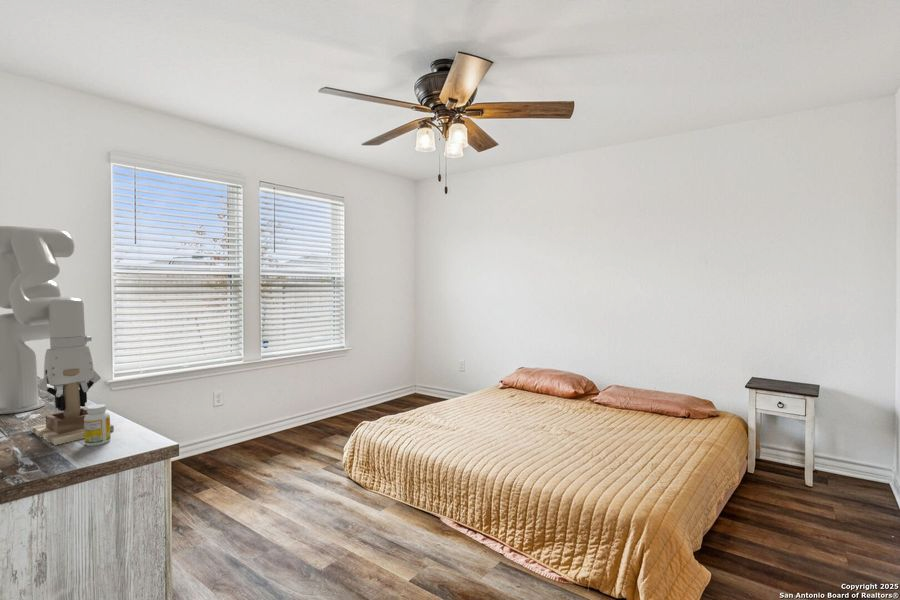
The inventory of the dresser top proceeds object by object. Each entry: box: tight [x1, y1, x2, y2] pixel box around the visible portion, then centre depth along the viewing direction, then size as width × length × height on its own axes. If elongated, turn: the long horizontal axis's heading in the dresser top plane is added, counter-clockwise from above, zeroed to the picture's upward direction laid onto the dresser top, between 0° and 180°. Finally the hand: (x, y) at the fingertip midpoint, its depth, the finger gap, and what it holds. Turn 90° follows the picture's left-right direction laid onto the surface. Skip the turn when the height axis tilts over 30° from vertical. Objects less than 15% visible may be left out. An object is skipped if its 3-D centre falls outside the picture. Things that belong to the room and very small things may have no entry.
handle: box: [62, 369, 82, 419], centre depth 127 cm, size 5×6×15 cm
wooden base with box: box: [31, 406, 115, 446], centre depth 127 cm, size 18×13×5 cm
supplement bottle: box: [84, 403, 111, 447], centre depth 119 cm, size 5×5×10 cm
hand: (71, 407), depth 127 cm, fingers closed on handle, 3 cm apart
